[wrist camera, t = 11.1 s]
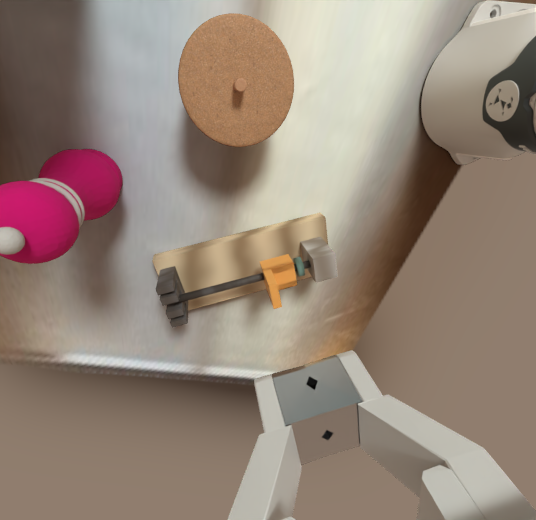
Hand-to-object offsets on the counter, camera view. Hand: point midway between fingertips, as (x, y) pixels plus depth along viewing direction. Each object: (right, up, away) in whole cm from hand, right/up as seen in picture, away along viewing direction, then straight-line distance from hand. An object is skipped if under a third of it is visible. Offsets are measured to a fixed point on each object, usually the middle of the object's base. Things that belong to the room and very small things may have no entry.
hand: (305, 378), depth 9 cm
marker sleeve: (0, +2, +33) cm, 33 cm away
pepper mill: (-22, +13, +28) cm, 37 cm away
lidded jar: (-5, +23, +26) cm, 35 cm away
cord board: (-4, +3, +36) cm, 37 cm away
